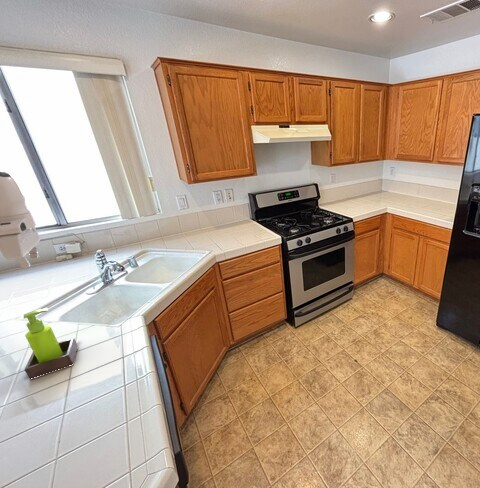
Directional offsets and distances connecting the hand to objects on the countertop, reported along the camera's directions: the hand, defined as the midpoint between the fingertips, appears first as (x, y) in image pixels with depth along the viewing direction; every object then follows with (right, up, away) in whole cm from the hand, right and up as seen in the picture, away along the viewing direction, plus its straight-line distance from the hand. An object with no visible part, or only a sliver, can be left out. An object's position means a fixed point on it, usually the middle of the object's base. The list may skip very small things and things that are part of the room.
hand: (31, 262), depth 88 cm
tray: (+5, -35, +3) cm, 36 cm away
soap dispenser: (+5, -35, +3) cm, 35 cm away
